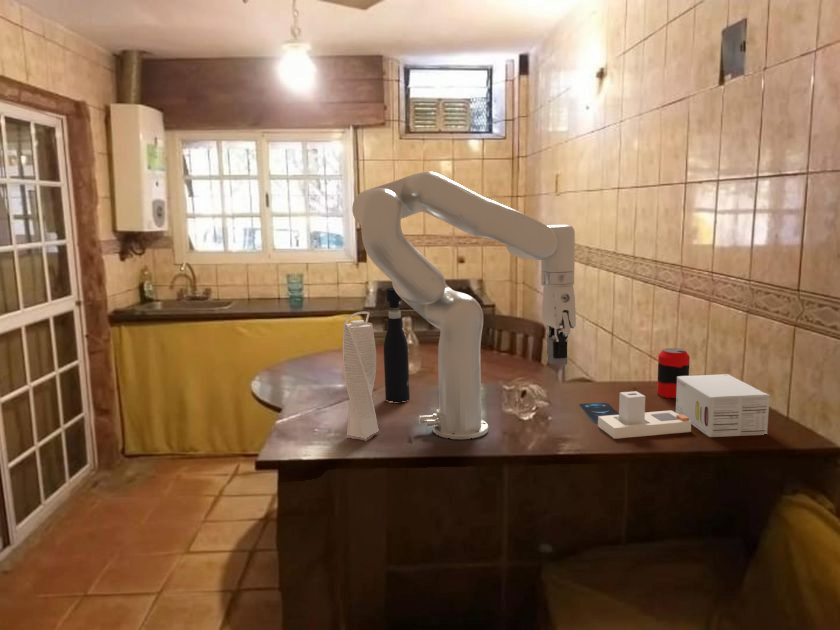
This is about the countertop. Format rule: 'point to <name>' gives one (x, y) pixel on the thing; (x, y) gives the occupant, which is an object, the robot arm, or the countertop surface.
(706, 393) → the supplement box
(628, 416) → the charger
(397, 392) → the wine bottle
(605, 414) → the smartphone
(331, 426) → the countertop surface
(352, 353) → the skyscraper
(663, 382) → the soda can
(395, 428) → the countertop surface
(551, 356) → the cable plug
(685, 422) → the power strip
